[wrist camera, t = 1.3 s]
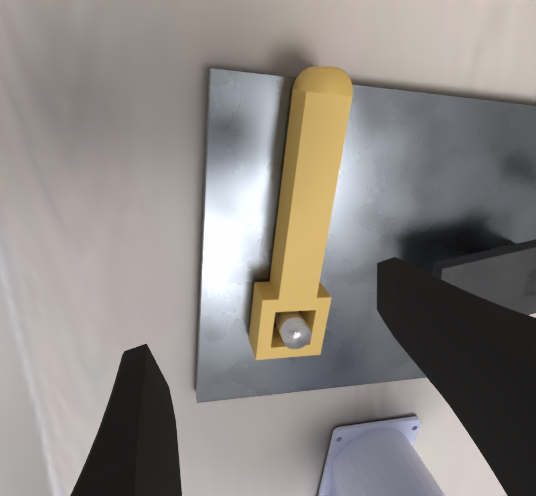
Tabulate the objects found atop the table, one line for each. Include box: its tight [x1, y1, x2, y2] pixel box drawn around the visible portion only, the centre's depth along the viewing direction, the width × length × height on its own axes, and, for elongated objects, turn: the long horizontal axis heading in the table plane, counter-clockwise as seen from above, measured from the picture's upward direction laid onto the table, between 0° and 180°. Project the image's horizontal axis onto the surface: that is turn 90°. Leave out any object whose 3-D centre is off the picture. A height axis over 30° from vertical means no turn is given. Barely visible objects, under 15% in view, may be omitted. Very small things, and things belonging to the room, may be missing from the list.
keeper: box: [432, 239, 536, 315], centre depth 25 cm, size 8×5×4 cm, turn 96°
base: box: [196, 68, 536, 403], centre depth 24 cm, size 20×23×4 cm
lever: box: [249, 66, 353, 360], centre depth 21 cm, size 16×4×2 cm, turn 174°
